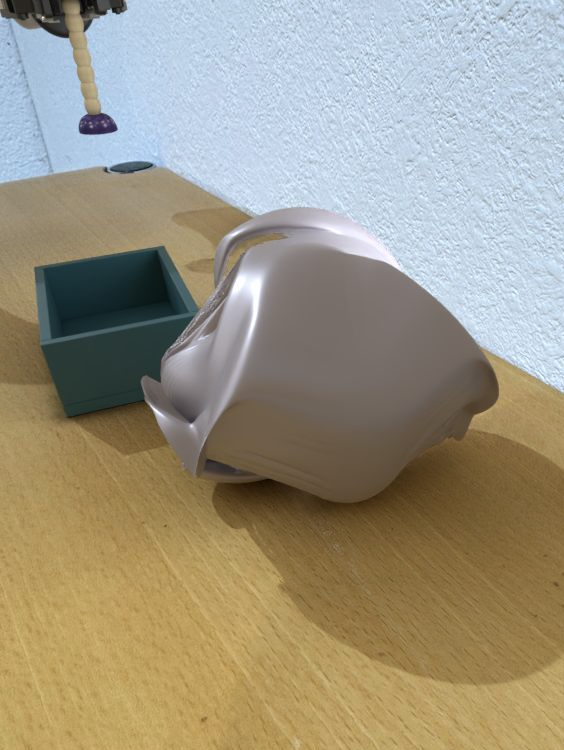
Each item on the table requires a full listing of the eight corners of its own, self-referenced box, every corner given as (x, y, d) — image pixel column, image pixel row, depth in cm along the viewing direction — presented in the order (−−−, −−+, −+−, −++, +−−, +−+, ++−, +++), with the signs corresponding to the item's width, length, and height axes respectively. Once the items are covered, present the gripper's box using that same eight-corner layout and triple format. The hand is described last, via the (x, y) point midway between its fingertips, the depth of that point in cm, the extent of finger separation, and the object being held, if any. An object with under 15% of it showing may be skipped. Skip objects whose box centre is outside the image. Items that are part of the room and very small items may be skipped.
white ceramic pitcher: (193, 593, 40) (158, 391, 29) (137, 402, 50) (96, 199, 39) (493, 511, 46) (557, 321, 35) (389, 357, 57) (414, 172, 46)
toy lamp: (106, 125, 82) (62, -55, 72) (132, 129, 80) (90, -57, 69) (71, 133, 79) (20, -54, 69) (97, 137, 77) (48, -55, 66)
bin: (55, 329, 66) (33, 266, 62) (177, 306, 69) (164, 245, 65) (66, 417, 53) (40, 345, 49) (216, 384, 56) (201, 314, 53)
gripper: (-22, -41, 77) (-17, -41, 65) (109, -45, 82) (136, -47, 70) (2, 40, 82) (11, 53, 70) (125, 31, 87) (153, 42, 75)
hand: (74, 3), depth 70 cm, fingers closed on toy lamp, 4 cm apart
